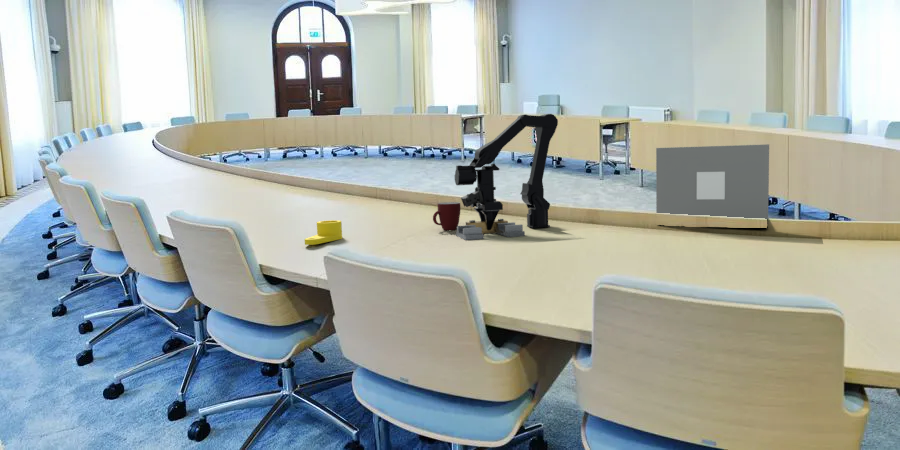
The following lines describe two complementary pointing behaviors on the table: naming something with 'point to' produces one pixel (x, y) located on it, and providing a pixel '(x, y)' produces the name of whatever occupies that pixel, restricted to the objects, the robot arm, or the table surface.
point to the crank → (326, 232)
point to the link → (484, 226)
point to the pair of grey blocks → (502, 228)
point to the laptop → (713, 180)
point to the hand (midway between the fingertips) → (486, 229)
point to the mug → (448, 215)
